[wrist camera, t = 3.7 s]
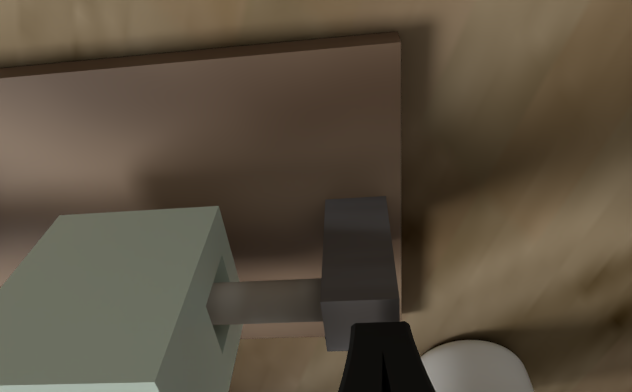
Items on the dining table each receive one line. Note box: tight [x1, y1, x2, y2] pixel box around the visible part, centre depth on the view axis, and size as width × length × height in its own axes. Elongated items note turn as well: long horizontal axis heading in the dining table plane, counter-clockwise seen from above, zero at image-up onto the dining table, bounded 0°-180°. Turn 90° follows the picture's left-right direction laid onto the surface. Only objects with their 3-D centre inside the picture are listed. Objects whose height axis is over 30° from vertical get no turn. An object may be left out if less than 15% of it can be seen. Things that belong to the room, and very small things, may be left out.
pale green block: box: [0, 206, 243, 392], centre depth 13 cm, size 4×5×6 cm
